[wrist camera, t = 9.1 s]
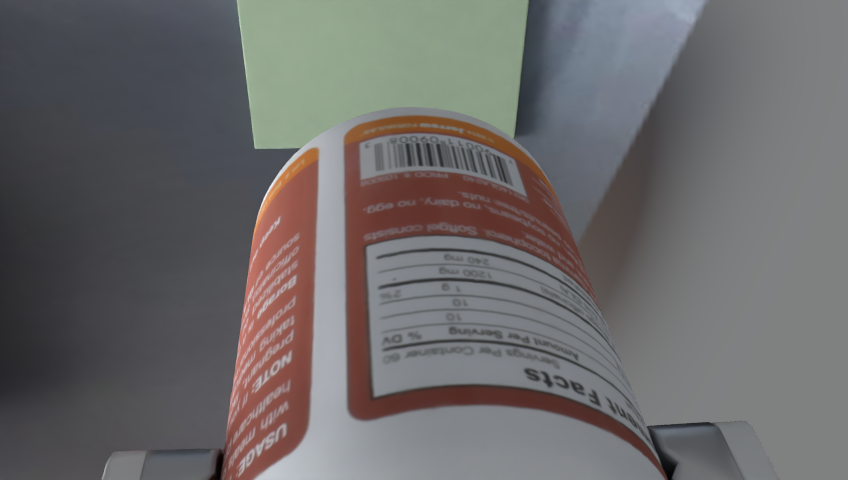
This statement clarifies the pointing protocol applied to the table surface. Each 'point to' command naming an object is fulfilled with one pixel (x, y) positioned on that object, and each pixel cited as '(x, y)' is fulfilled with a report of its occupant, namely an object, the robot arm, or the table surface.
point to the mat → (378, 61)
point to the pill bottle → (424, 319)
